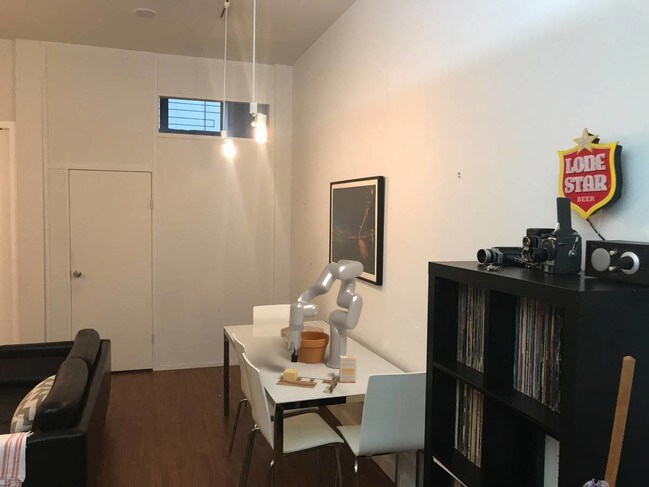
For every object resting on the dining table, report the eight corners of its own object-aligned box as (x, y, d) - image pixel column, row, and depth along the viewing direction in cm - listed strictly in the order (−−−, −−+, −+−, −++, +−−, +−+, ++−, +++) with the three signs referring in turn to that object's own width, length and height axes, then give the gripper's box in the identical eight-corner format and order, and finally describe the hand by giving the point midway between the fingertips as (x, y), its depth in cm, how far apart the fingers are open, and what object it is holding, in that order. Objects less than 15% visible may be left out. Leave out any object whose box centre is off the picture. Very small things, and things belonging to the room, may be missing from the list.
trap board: (284, 377, 264) (284, 371, 264) (337, 383, 258) (337, 376, 258) (275, 387, 249) (275, 380, 249) (331, 393, 243) (331, 386, 243)
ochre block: (286, 376, 262) (286, 368, 262) (297, 377, 261) (298, 369, 261) (283, 379, 256) (283, 371, 256) (294, 381, 255) (294, 373, 255)
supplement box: (354, 379, 264) (355, 355, 264) (355, 383, 260) (356, 357, 259) (338, 379, 264) (339, 354, 263) (339, 382, 259) (340, 357, 259)
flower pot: (324, 367, 285) (325, 341, 284) (288, 363, 289) (288, 338, 288) (331, 356, 305) (332, 332, 304) (297, 353, 309) (298, 329, 309)
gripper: (293, 324, 273) (291, 357, 274) (285, 329, 259) (283, 365, 259) (306, 325, 272) (304, 359, 272) (299, 330, 257) (297, 366, 258)
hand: (294, 362), depth 266 cm, fingers closed
